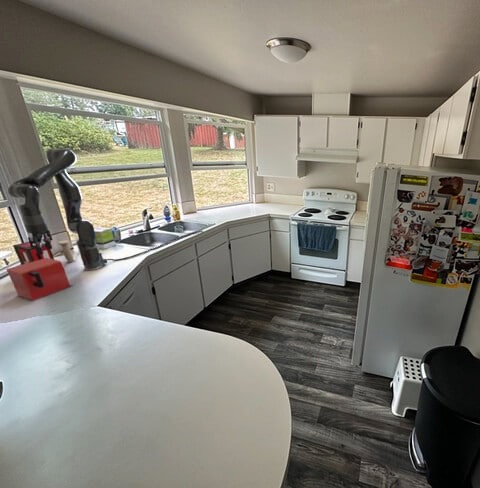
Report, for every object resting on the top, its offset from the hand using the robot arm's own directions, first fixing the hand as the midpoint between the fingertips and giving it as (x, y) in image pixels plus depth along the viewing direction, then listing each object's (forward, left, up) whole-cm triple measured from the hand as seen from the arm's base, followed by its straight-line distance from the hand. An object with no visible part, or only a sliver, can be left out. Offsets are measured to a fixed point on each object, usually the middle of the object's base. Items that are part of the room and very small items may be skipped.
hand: (45, 251), depth 136 cm
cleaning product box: (-6, -29, -22) cm, 37 cm away
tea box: (-52, -49, -22) cm, 74 cm away
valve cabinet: (+5, -3, -22) cm, 23 cm away
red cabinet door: (+5, +7, -22) cm, 24 cm away
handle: (-24, -36, -22) cm, 48 cm away
